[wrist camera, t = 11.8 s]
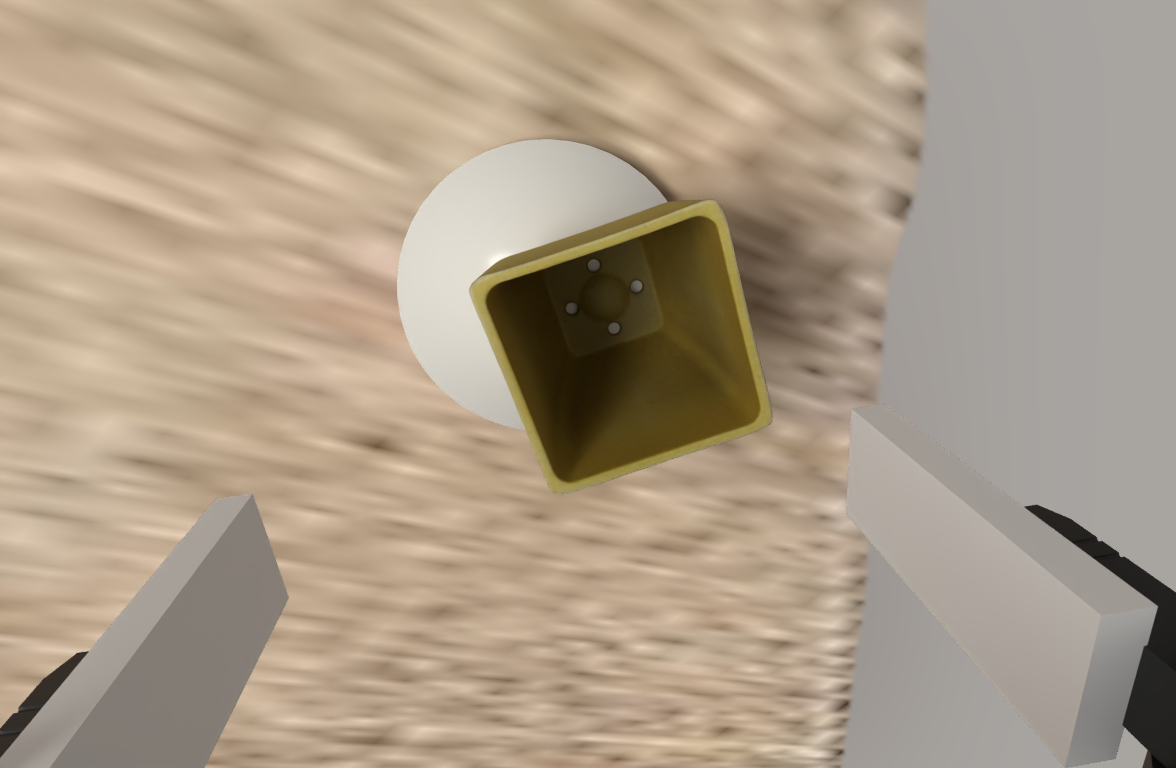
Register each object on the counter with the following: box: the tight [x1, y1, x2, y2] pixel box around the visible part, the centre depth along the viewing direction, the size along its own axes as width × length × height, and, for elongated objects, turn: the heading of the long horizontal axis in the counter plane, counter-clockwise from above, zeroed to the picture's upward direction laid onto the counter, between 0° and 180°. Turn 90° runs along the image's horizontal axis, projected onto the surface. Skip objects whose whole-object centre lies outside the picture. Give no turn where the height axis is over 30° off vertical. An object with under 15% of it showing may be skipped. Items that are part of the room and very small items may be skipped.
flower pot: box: [469, 200, 772, 494], centre depth 26 cm, size 9×9×9 cm
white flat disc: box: [397, 139, 667, 430], centre depth 31 cm, size 14×14×1 cm
